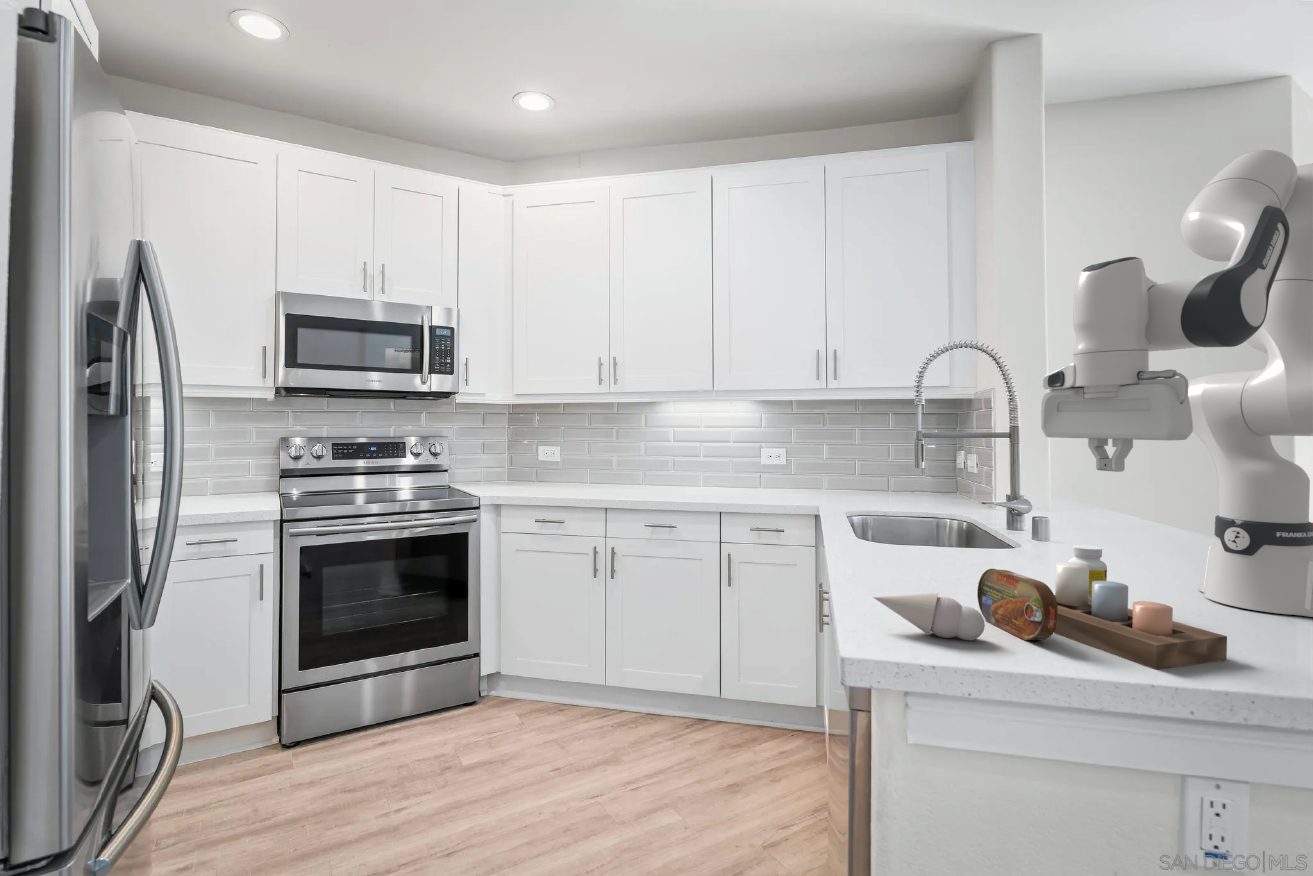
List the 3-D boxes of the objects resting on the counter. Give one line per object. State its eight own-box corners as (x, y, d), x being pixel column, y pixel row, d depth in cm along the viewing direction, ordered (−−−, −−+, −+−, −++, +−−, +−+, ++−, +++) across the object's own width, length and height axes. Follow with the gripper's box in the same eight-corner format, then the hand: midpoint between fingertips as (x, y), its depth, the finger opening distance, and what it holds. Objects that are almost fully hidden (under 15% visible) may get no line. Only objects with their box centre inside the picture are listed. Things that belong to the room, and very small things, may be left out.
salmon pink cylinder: (1147, 640, 89) (1148, 600, 89) (1180, 650, 85) (1180, 608, 85) (1124, 643, 88) (1125, 602, 88) (1155, 653, 84) (1156, 611, 84)
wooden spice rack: (1073, 611, 104) (1073, 593, 104) (1226, 659, 83) (1226, 636, 83) (1012, 617, 101) (1012, 598, 101) (1155, 669, 80) (1156, 645, 80)
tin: (975, 616, 102) (975, 562, 102) (994, 615, 102) (994, 562, 102) (1040, 649, 87) (1041, 586, 87) (1062, 648, 87) (1063, 586, 87)
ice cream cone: (868, 624, 97) (978, 656, 91) (867, 607, 93) (983, 640, 86) (877, 587, 100) (985, 616, 94) (877, 569, 96) (990, 598, 89)
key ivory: (1070, 597, 100) (1070, 562, 100) (1095, 604, 96) (1096, 567, 96) (1048, 599, 99) (1049, 563, 99) (1073, 607, 95) (1073, 569, 95)
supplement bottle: (1112, 611, 104) (1113, 550, 104) (1075, 609, 105) (1076, 549, 105) (1097, 602, 110) (1098, 544, 109) (1061, 600, 111) (1062, 543, 111)
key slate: (1106, 617, 95) (1107, 579, 95) (1135, 626, 91) (1135, 586, 90) (1084, 620, 93) (1084, 581, 93) (1111, 628, 89) (1112, 589, 89)
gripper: (1205, 368, 84) (1205, 475, 84) (1065, 378, 103) (1065, 465, 104) (1169, 368, 82) (1168, 478, 82) (1033, 378, 102) (1033, 467, 102)
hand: (1110, 471), depth 93 cm, fingers closed
